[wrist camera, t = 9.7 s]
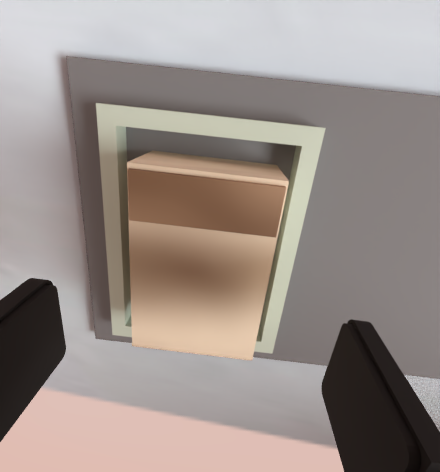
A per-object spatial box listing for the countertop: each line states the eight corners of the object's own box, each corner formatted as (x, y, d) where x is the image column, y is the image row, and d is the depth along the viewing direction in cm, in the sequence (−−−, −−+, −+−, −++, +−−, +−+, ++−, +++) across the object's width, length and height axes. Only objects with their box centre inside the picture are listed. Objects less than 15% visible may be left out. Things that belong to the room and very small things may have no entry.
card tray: (107, 103, 13) (95, 102, 12) (317, 126, 13) (325, 128, 12) (120, 321, 18) (112, 335, 17) (270, 338, 18) (272, 353, 17)
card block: (249, 314, 17) (252, 364, 14) (151, 302, 17) (130, 349, 14) (276, 164, 14) (290, 182, 10) (152, 150, 14) (124, 163, 10)
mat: (654, 121, 12) (673, 121, 12) (482, 376, 19) (489, 384, 18) (73, 58, 13) (66, 56, 12) (99, 332, 19) (95, 338, 19)
